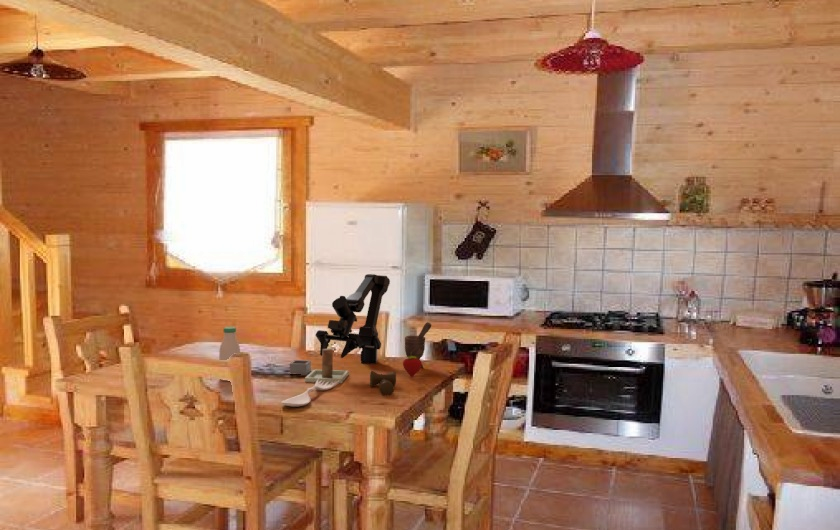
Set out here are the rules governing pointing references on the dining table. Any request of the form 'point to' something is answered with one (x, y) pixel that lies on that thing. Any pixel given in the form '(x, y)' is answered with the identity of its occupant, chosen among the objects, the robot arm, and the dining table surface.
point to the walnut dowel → (327, 363)
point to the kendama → (383, 382)
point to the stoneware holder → (300, 367)
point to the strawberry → (412, 365)
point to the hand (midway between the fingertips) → (331, 356)
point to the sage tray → (337, 376)
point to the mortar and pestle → (416, 343)
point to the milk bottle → (228, 344)
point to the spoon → (304, 397)
